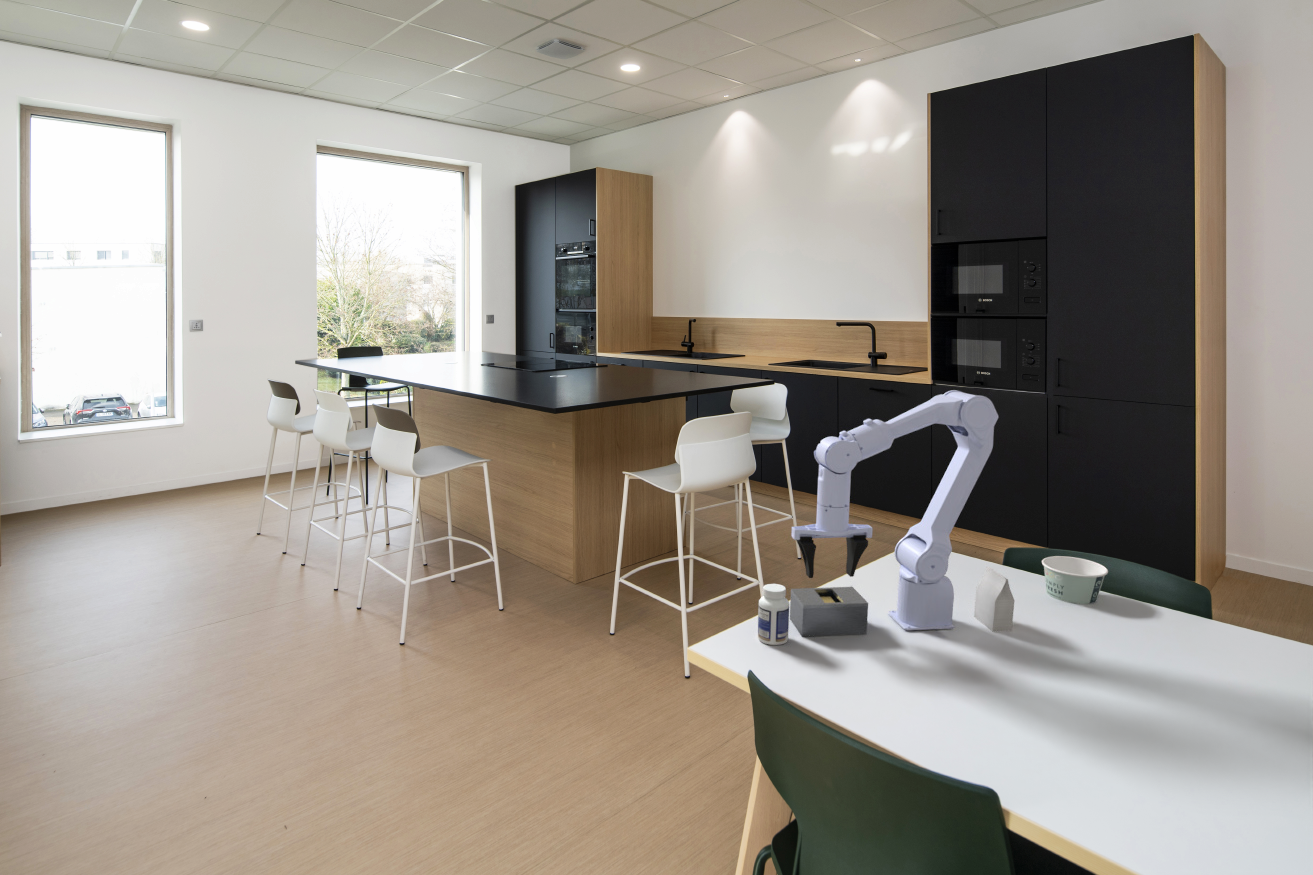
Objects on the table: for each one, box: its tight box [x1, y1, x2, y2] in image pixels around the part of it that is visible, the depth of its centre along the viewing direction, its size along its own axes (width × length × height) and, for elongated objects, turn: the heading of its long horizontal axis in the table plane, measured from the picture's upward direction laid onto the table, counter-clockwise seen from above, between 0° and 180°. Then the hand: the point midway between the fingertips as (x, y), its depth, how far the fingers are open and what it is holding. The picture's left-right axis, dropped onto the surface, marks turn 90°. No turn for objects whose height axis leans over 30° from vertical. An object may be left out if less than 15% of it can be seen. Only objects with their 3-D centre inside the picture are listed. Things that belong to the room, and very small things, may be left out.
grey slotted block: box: [789, 586, 869, 638], centre depth 140 cm, size 12×8×6 cm, turn 96°
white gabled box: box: [973, 566, 1015, 632], centre depth 142 cm, size 4×7×10 cm, turn 5°
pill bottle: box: [757, 583, 790, 646], centre depth 134 cm, size 5×5×10 cm
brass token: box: [821, 597, 835, 603], centre depth 140 cm, size 2×4×5 cm, turn 5°
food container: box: [1041, 555, 1109, 605], centre depth 156 cm, size 12×12×6 cm
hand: (829, 575), depth 139 cm, fingers open, 7 cm apart
